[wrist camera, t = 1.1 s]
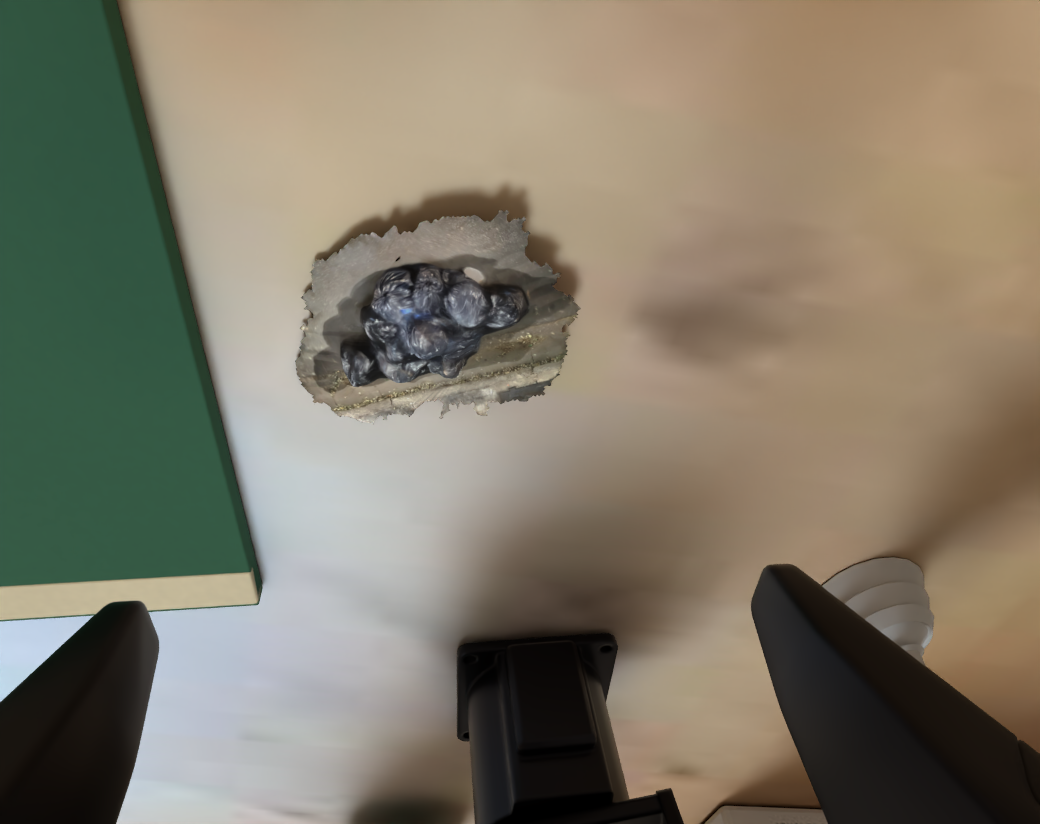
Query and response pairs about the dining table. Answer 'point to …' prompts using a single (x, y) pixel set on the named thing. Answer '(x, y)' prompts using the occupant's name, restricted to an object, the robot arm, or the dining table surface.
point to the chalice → (889, 600)
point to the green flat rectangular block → (100, 345)
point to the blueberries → (433, 320)
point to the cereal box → (766, 816)
